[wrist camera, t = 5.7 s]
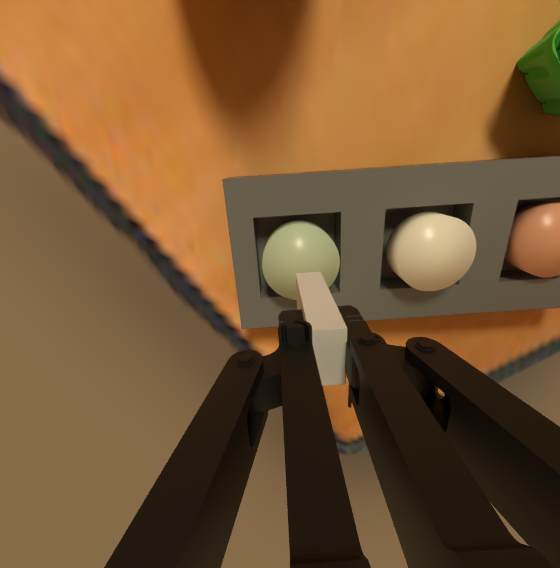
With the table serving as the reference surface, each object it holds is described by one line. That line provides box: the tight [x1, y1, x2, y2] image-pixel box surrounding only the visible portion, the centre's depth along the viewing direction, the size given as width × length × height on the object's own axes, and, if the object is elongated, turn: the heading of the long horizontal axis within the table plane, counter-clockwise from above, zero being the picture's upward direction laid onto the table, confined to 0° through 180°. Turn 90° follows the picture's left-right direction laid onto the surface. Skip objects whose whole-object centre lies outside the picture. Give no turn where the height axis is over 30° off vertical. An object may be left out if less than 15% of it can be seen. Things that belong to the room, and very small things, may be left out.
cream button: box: [386, 211, 476, 291], centre depth 23 cm, size 6×6×2 cm
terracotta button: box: [504, 201, 560, 277], centre depth 25 cm, size 6×6×2 cm
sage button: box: [262, 220, 340, 300], centre depth 23 cm, size 6×6×2 cm
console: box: [222, 155, 560, 329], centre depth 26 cm, size 13×32×4 cm, turn 94°
